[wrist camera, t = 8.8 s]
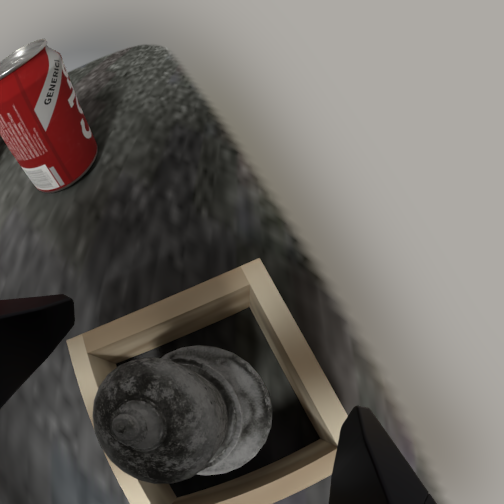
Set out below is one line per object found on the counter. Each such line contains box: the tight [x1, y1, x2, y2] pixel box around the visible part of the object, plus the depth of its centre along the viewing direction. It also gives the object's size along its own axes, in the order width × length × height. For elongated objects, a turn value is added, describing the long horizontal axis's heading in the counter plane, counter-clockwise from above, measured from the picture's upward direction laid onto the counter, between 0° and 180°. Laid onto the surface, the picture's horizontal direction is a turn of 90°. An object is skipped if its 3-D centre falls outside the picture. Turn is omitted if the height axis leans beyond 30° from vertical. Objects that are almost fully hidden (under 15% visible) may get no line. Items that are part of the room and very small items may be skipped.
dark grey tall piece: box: [92, 345, 273, 484], centre depth 9 cm, size 6×6×12 cm
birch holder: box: [66, 258, 348, 504], centre depth 13 cm, size 10×10×4 cm
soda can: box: [0, 39, 98, 193], centre depth 17 cm, size 7×7×12 cm
